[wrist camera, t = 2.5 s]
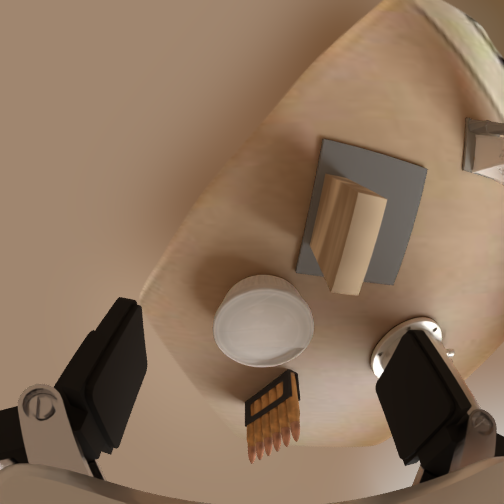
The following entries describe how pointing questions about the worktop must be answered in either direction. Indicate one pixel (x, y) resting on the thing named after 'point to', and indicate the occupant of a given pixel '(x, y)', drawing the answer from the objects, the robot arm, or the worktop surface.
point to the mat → (384, 184)
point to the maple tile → (346, 232)
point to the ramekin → (263, 322)
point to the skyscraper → (484, 149)
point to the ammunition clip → (273, 415)
